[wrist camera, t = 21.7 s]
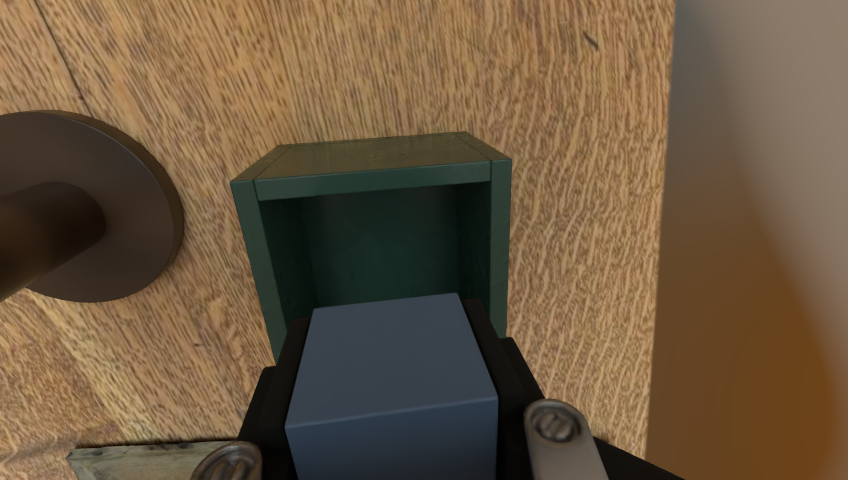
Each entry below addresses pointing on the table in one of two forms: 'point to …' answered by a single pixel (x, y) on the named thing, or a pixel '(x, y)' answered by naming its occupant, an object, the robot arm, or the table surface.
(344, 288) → the green box
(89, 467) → the parchment
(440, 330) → the block
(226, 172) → the table surface
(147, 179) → the post
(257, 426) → the robot arm
